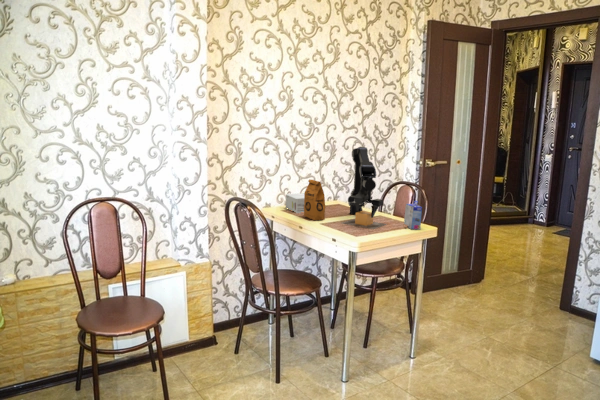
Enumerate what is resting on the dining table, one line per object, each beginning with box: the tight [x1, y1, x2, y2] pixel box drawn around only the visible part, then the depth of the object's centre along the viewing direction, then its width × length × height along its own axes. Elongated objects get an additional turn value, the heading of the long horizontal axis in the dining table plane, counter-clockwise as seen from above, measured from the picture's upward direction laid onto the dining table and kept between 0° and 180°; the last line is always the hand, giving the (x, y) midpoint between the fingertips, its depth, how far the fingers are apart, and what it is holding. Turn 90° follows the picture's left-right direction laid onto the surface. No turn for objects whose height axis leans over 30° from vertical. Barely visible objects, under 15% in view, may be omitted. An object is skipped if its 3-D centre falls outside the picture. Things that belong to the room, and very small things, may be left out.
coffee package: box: [303, 179, 326, 221], centre depth 253 cm, size 10×12×22 cm
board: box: [341, 218, 388, 230], centre depth 240 cm, size 20×16×1 cm
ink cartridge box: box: [403, 200, 423, 230], centre depth 238 cm, size 10×6×14 cm, turn 11°
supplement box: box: [285, 192, 305, 214], centre depth 278 cm, size 17×13×9 cm
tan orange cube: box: [354, 210, 374, 226], centre depth 240 cm, size 7×7×6 cm
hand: (364, 216), depth 239 cm, fingers open, 9 cm apart
